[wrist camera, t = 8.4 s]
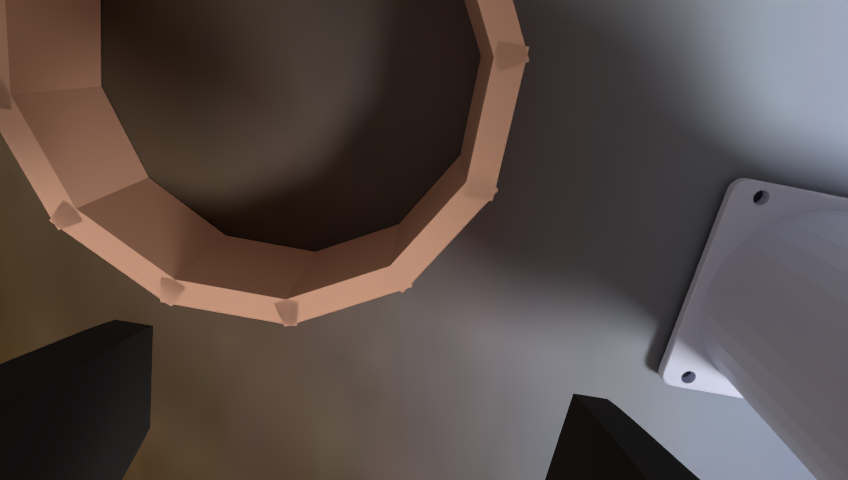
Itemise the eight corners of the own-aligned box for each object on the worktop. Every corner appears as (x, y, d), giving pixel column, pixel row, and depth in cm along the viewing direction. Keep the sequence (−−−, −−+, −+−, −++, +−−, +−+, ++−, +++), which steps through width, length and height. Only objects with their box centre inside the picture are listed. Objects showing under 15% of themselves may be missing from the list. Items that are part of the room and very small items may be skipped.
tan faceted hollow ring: (551, -129, 16) (589, -188, 12) (453, 300, 20) (458, 357, 16) (66, -234, 15) (-58, -331, 11) (76, 231, 19) (-10, 274, 16)
